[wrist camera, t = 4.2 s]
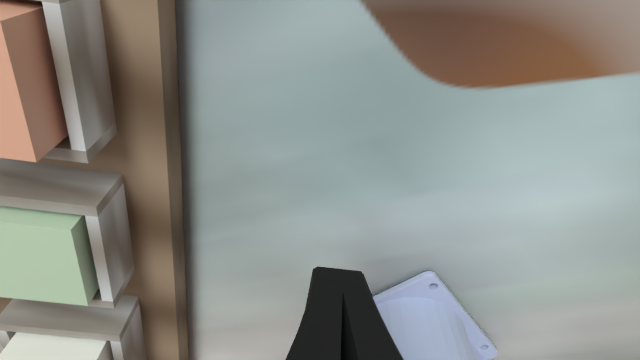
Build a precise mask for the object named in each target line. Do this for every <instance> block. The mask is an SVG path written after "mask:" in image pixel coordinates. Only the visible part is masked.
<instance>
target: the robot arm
mask: <svg viewBox="0 0 640 360" xmlns="http://www.w3.org/2000/svg"><path fill="white" fill-rule="evenodd" d="M433 283H435V284H433ZM430 284H432V285H430ZM497 355H498V351H497V349H496V347H495V346H494V344H493V343H492V342H491V341H490V340H489V338H488V337H487V336H486V335H485V333H484V332H483V331H482V330H481V329H480V327H479V326H478V325H477V324H476V322H475V321H474V320H473V319H472V318H471V316H470V315H469V314H468V313H467V311H466V310H465V309H464V308H463V307H462V305H461V304H460V303H459V302H458V300H457V299H456V298H455V297H454V296H453V294H452V293H451V292H450V291H449V289H448V288H447V287H446V286H445V285H444V283H443V282H442V281H441V280H440V278H439V277H438V276H437V275H436V274H435V273H434V272H432V271H426V272H423V273H421V274H419V275H417V276H415V277H413V278H411V279H409V280H407V281H404V282H402V283H400V284H398V285H396V286H394V287H392V288H390V289H388V290H386V291H384V292H382V293H380V294H377V295H375V296H373V297H372V294H371V292H370V290H369V287H368V285H367V282H366V279H365V277H364V274H363V273H362V272H361V271H352V270H343V269H334V268H325V267H316V268H314V269H313V272H312V277H311V283H310V288H309V293H308V298H307V303H306V309H305V312H304V315H303V318H302V321H301V324H300V327H299V329H298V332H297V334H296V337H295V339H294V341H293V344H292V346H291V348H290V351H289V353H288V355H287V358H286V360H490V359H493V358H495V357H496V356H497Z"/></svg>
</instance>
